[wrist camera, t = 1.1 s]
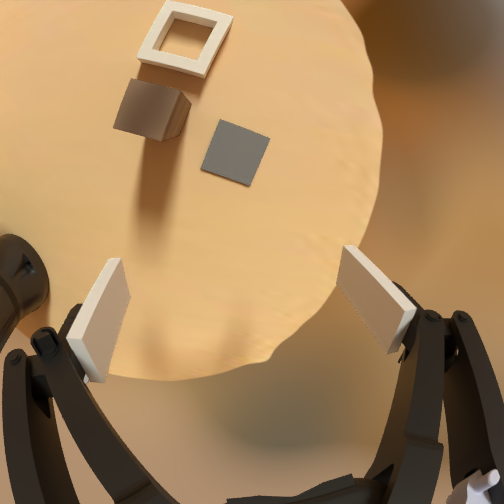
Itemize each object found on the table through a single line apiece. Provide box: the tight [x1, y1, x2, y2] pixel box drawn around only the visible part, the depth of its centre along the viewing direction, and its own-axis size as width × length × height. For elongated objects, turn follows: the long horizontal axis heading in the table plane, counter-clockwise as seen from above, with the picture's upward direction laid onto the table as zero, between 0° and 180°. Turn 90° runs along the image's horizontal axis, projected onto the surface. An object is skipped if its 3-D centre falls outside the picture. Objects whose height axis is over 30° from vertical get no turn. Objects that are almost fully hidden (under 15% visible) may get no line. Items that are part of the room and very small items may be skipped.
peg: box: [113, 78, 191, 141], centre depth 24 cm, size 4×4×14 cm
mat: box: [201, 119, 270, 186], centre depth 34 cm, size 7×7×1 cm
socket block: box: [136, 0, 234, 79], centre depth 25 cm, size 9×9×3 cm
